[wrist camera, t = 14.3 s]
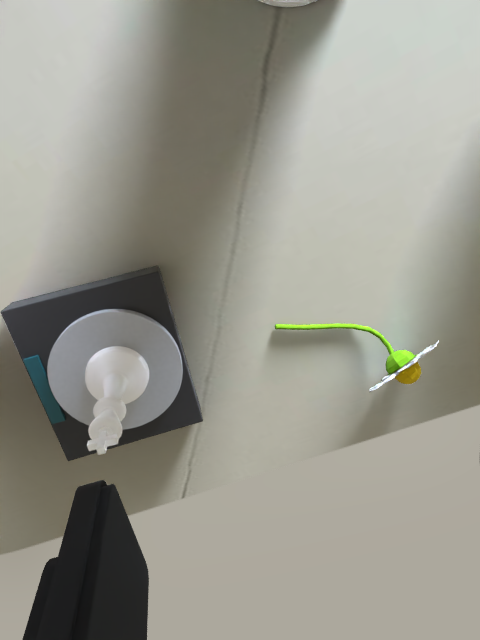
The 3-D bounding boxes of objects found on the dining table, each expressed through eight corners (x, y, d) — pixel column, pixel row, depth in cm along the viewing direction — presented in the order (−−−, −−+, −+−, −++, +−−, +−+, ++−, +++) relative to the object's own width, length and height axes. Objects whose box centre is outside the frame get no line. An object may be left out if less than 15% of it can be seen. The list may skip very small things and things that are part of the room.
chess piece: (155, 394, 34) (154, 474, 24) (95, 408, 33) (69, 496, 24) (141, 339, 32) (133, 403, 23) (77, 353, 31) (42, 425, 22)
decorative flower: (298, 378, 31) (469, 372, 34) (287, 304, 34) (446, 304, 37) (273, 403, 38) (417, 396, 41) (265, 340, 41) (401, 338, 44)
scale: (11, 302, 33) (-5, 314, 29) (158, 265, 34) (158, 273, 31) (73, 444, 37) (65, 467, 34) (200, 407, 39) (203, 426, 36)
